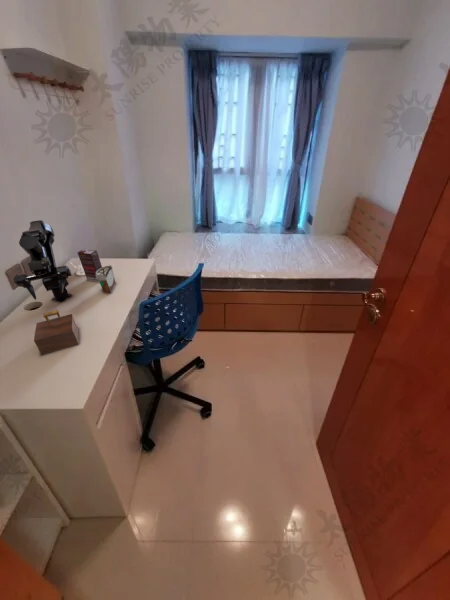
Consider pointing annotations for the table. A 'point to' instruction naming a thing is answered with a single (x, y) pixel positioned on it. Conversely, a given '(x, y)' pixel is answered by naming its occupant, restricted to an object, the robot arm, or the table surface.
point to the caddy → (58, 341)
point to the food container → (106, 278)
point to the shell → (80, 270)
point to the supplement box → (90, 263)
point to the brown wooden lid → (53, 326)
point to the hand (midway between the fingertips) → (48, 296)
